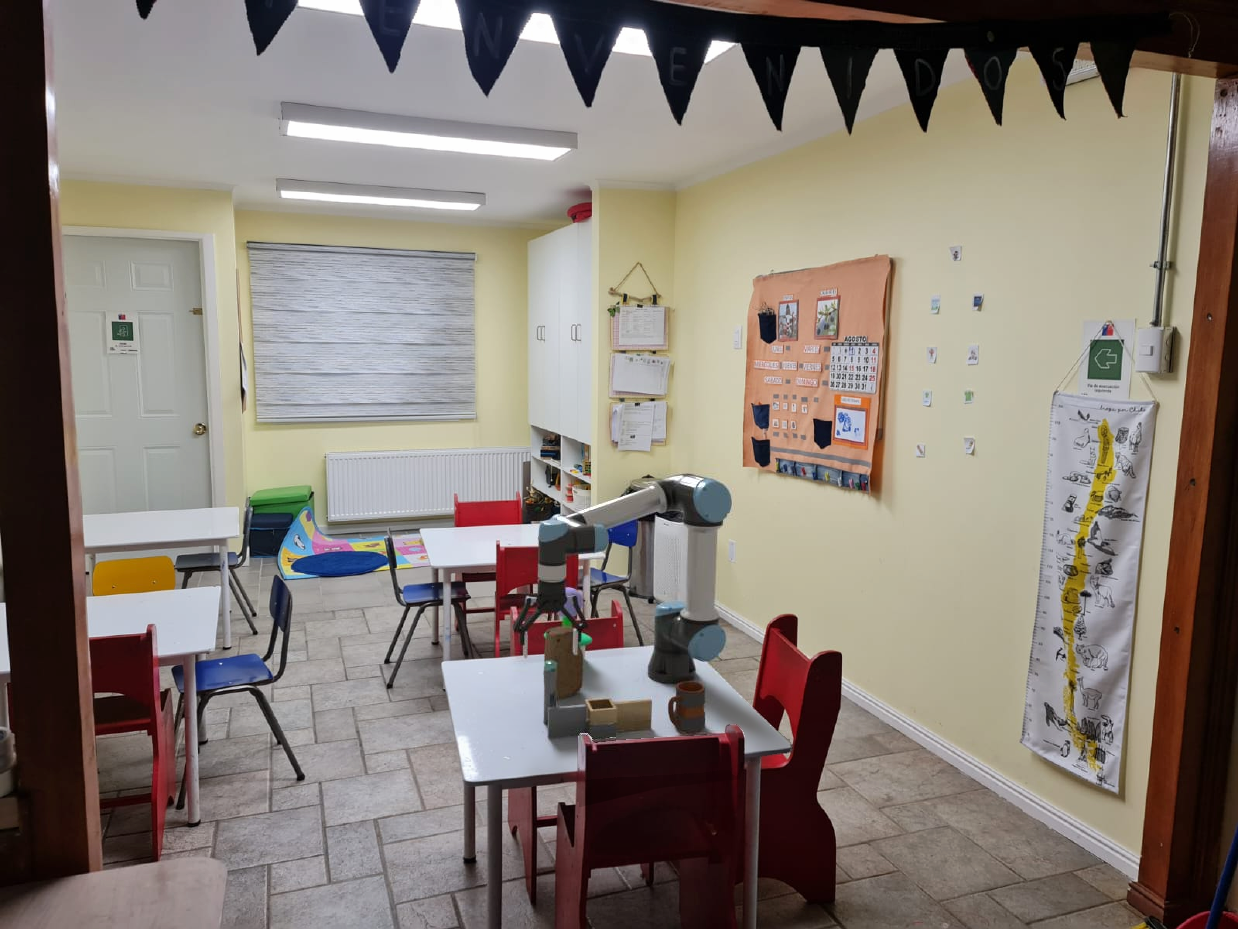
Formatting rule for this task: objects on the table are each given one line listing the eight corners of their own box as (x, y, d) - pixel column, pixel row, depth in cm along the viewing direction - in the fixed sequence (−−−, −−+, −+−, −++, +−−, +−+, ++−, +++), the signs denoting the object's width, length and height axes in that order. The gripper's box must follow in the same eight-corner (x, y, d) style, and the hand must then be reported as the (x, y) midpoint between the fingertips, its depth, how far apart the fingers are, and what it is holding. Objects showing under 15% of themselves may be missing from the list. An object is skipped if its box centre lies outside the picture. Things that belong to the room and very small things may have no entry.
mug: (657, 728, 232) (658, 687, 230) (690, 717, 239) (691, 677, 238) (678, 741, 225) (680, 698, 224) (711, 729, 233) (713, 688, 231)
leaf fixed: (610, 726, 233) (610, 697, 232) (616, 738, 226) (617, 708, 225) (545, 731, 229) (546, 702, 228) (550, 744, 222) (550, 714, 221)
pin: (555, 719, 236) (555, 660, 234) (557, 724, 233) (558, 664, 231) (542, 720, 236) (543, 660, 233) (544, 725, 232) (545, 665, 230)
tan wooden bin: (646, 721, 235) (647, 694, 234) (654, 733, 229) (655, 705, 227) (584, 727, 231) (584, 699, 230) (589, 739, 224) (590, 711, 223)
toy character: (598, 665, 276) (599, 589, 272) (567, 674, 268) (569, 596, 264) (568, 651, 288) (570, 578, 284) (538, 659, 280) (539, 585, 276)
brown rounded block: (551, 701, 248) (551, 635, 245) (541, 691, 254) (542, 626, 251) (585, 695, 252) (586, 630, 250) (575, 686, 259) (576, 622, 256)
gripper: (594, 573, 235) (592, 647, 238) (503, 576, 229) (502, 652, 232) (600, 580, 228) (598, 657, 231) (506, 584, 222) (505, 662, 225)
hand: (550, 655), depth 232 cm, fingers open, 13 cm apart
